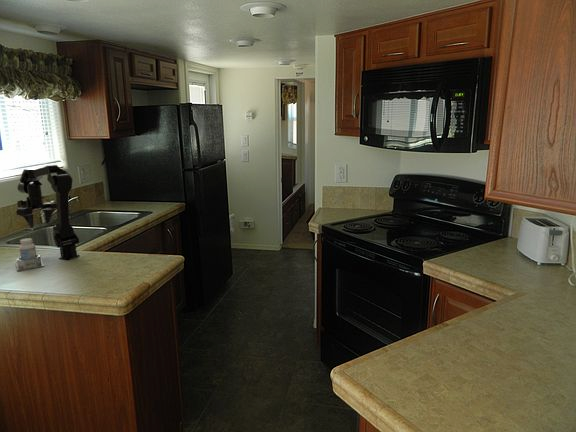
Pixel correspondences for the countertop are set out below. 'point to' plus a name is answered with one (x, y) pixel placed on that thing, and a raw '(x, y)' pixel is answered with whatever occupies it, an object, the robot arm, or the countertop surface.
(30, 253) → the pill bottle
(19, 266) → the grey open tray
